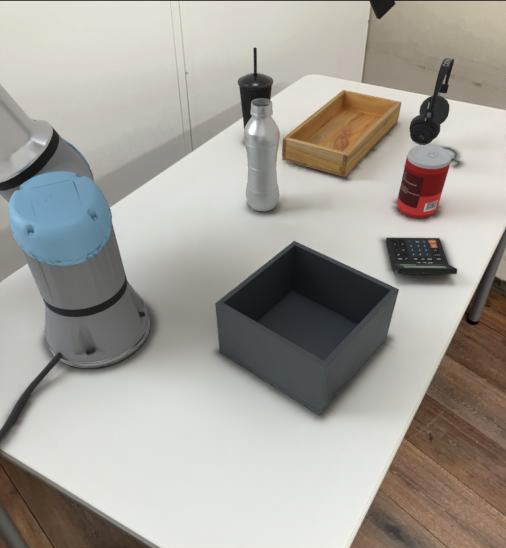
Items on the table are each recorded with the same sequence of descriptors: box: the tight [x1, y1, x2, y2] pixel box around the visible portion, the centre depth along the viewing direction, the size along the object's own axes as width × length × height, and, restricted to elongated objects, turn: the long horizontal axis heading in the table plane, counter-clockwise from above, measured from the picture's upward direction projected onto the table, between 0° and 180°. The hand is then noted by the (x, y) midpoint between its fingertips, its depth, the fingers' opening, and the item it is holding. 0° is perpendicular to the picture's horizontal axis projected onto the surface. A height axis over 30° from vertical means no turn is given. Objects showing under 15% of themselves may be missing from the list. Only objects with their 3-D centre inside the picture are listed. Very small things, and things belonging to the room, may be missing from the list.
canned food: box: [396, 144, 453, 219], centre depth 95 cm, size 8×8×11 cm
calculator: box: [385, 237, 458, 275], centre depth 87 cm, size 9×12×3 cm
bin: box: [214, 240, 400, 416], centre depth 72 cm, size 18×18×10 cm
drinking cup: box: [237, 47, 274, 130], centre depth 112 cm, size 8×8×20 cm
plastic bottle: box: [243, 98, 281, 212], centre depth 93 cm, size 6×7×20 cm
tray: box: [281, 89, 402, 178], centre depth 116 cm, size 31×15×6 cm, turn 148°
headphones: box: [408, 57, 460, 167], centre depth 104 cm, size 15×11×20 cm
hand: (358, 0), depth 72 cm, fingers open, 13 cm apart
